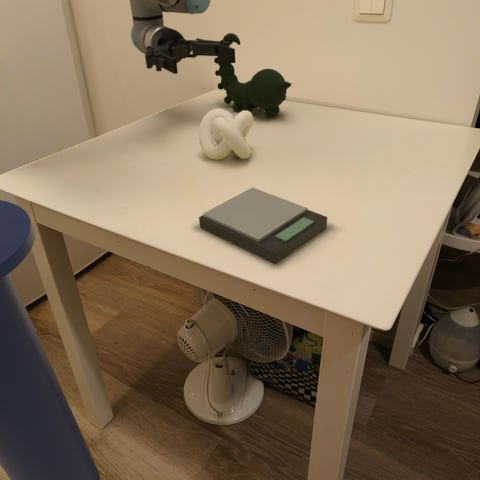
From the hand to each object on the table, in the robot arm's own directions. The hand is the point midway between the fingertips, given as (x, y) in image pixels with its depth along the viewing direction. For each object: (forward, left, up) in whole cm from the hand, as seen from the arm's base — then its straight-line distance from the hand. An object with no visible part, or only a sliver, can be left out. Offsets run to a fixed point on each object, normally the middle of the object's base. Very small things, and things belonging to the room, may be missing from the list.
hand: (205, 61), depth 94 cm
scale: (+34, -22, -17) cm, 44 cm away
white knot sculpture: (+9, -3, -17) cm, 20 cm away
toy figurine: (-6, +21, -17) cm, 28 cm away
